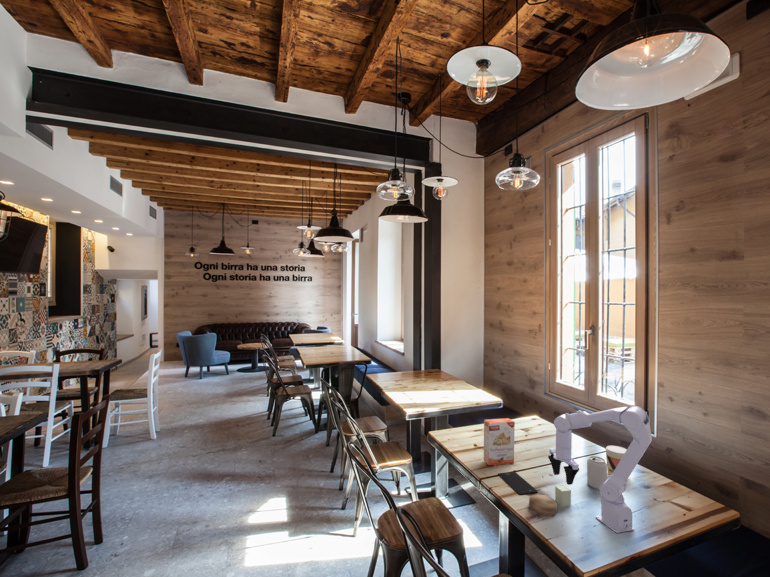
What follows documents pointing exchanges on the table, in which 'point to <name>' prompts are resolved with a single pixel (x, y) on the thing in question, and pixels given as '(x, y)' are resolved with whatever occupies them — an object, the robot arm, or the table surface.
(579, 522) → the table surface
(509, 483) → the cell phone
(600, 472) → the can
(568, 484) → the robot arm
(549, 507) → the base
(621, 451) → the coffee cup
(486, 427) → the cracker box
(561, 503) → the block
